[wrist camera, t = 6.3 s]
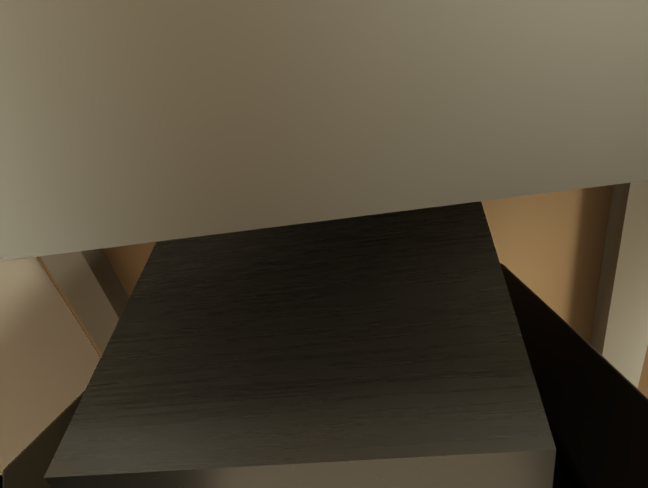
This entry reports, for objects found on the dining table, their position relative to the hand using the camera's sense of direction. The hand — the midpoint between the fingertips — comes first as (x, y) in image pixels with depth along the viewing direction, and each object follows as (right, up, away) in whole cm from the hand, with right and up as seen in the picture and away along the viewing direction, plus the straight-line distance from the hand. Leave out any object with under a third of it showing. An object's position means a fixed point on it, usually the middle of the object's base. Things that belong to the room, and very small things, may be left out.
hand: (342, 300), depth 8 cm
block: (0, +1, +1) cm, 1 cm away
